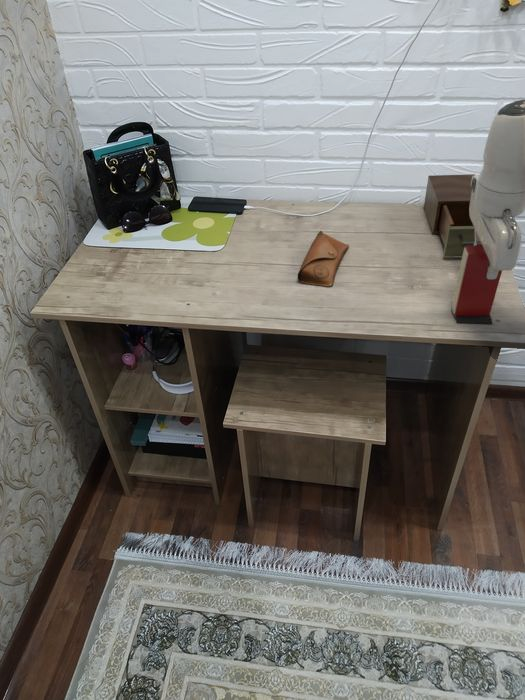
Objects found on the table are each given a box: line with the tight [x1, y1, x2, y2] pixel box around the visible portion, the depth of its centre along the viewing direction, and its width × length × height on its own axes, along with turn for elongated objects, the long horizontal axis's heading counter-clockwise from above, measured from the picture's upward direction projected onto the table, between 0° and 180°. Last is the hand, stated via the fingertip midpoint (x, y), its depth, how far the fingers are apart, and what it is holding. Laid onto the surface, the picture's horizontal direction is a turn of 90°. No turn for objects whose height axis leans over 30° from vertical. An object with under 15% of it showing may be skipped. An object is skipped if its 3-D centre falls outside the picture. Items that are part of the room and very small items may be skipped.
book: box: [451, 245, 503, 317], centre depth 113 cm, size 7×3×15 cm, turn 88°
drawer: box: [438, 204, 475, 258], centre depth 133 cm, size 17×10×7 cm, turn 177°
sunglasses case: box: [297, 230, 350, 287], centre depth 133 cm, size 18×7×7 cm
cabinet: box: [423, 174, 476, 236], centre depth 143 cm, size 14×12×9 cm
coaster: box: [454, 315, 493, 325], centre depth 118 cm, size 7×7×1 cm
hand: (484, 262), depth 110 cm, fingers open, 8 cm apart
